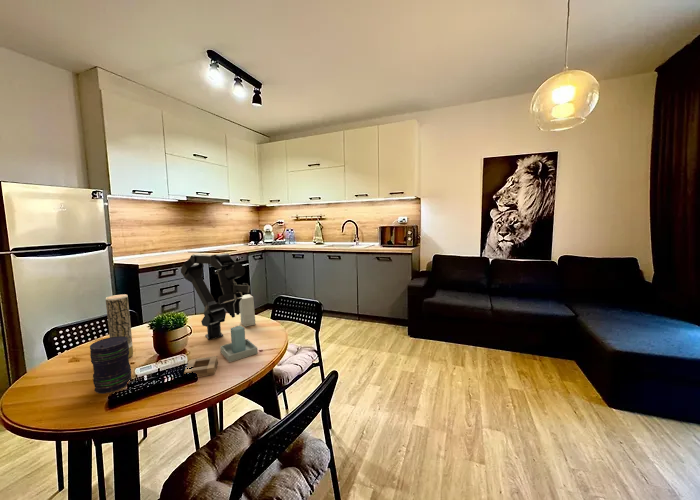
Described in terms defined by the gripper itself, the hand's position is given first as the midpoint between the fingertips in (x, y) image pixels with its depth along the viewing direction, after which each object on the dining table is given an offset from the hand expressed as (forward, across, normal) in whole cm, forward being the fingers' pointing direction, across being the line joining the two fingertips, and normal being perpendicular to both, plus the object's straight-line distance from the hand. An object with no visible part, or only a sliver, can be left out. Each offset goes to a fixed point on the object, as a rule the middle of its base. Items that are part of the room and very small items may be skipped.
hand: (236, 316), depth 126 cm
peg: (+14, -7, +1) cm, 15 cm away
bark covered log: (+3, -1, +45) cm, 45 cm away
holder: (+14, -18, +12) cm, 26 cm away
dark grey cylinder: (+9, -22, +38) cm, 45 cm away
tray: (+14, -6, +1) cm, 16 cm away
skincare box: (+7, +27, +2) cm, 28 cm away
